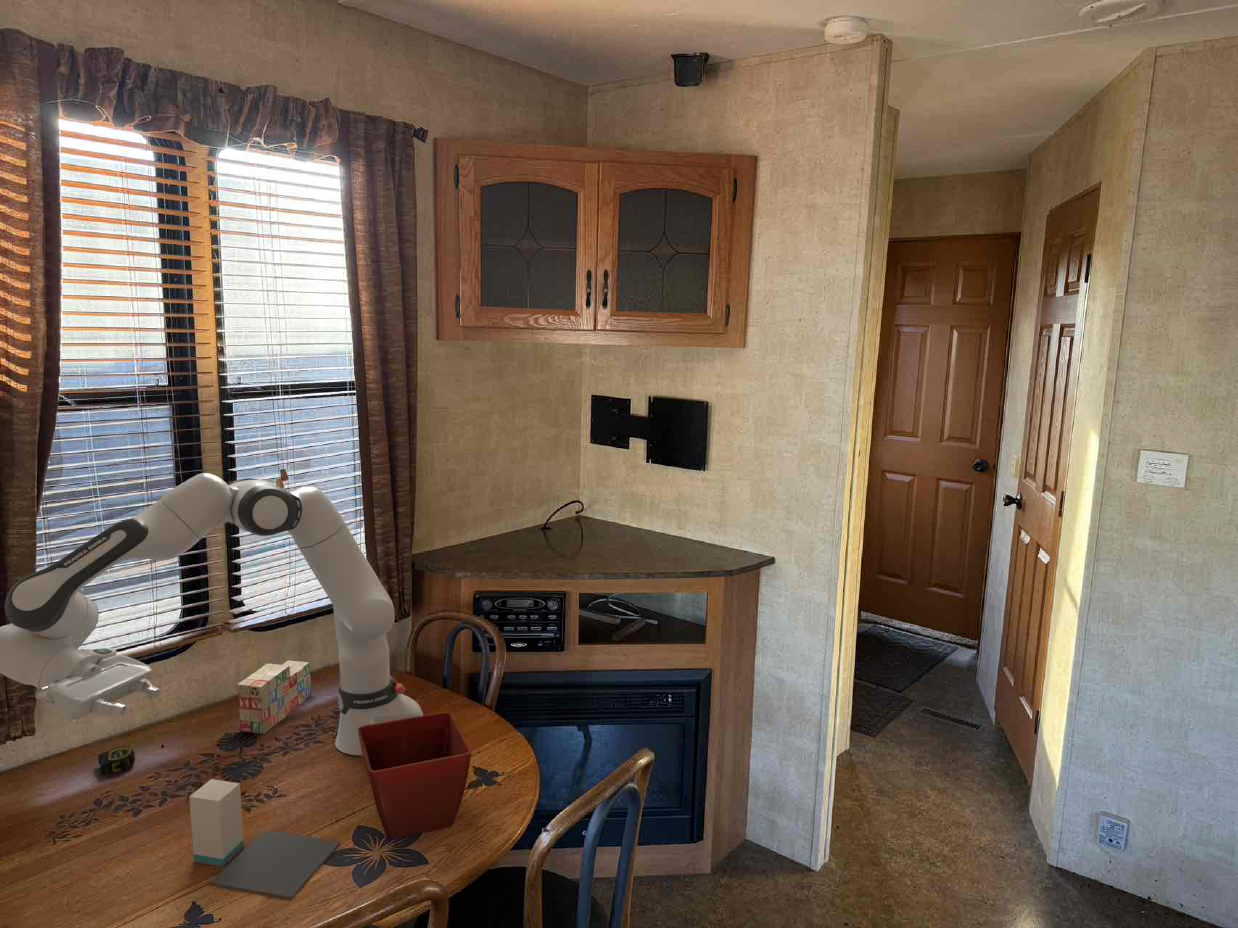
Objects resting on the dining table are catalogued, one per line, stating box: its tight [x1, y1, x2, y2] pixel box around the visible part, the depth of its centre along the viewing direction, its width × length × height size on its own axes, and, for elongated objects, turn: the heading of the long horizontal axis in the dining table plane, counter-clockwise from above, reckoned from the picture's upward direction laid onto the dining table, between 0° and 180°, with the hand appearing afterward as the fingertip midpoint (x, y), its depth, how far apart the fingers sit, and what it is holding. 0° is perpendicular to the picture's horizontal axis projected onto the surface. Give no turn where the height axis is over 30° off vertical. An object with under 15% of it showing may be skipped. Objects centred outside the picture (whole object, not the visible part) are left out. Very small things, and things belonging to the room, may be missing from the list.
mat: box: [209, 829, 341, 901], centre depth 158 cm, size 16×16×1 cm
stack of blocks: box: [237, 660, 312, 735], centre depth 215 cm, size 21×6×12 cm, turn 169°
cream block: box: [189, 778, 245, 867], centre depth 160 cm, size 6×6×13 cm
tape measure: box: [97, 746, 136, 777], centre depth 189 cm, size 7×7×4 cm
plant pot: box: [358, 711, 472, 840], centre depth 172 cm, size 19×19×17 cm
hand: (140, 703), depth 157 cm, fingers open, 8 cm apart
